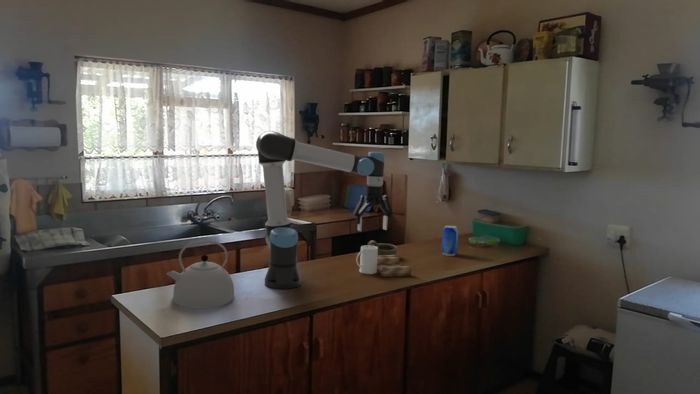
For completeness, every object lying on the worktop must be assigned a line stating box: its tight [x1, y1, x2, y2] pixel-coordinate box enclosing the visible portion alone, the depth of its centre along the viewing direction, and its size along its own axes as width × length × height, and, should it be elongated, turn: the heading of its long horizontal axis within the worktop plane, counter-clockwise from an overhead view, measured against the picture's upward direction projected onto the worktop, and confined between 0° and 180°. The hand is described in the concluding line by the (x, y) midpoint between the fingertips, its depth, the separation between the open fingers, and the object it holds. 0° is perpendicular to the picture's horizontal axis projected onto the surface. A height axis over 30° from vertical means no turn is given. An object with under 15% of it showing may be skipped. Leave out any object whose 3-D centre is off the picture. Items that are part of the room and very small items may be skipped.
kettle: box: [166, 240, 235, 309], centre depth 194 cm, size 25×23×22 cm
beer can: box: [440, 224, 459, 257], centre depth 282 cm, size 8×8×16 cm
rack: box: [377, 254, 412, 277], centre depth 247 cm, size 14×22×4 cm, turn 15°
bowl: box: [367, 239, 398, 256], centre depth 269 cm, size 14×18×10 cm
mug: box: [355, 244, 378, 275], centre depth 241 cm, size 12×8×12 cm
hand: (372, 230), depth 239 cm, fingers open, 13 cm apart
